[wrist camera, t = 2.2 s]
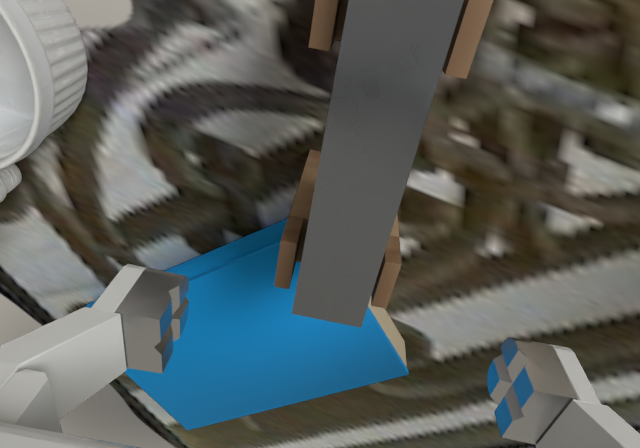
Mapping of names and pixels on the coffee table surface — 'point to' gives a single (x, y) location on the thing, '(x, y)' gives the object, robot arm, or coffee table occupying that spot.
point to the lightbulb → (9, 180)
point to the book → (261, 341)
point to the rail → (369, 148)
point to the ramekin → (37, 73)
